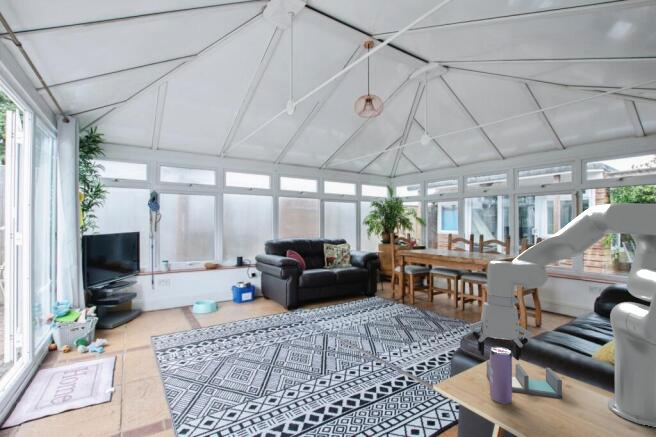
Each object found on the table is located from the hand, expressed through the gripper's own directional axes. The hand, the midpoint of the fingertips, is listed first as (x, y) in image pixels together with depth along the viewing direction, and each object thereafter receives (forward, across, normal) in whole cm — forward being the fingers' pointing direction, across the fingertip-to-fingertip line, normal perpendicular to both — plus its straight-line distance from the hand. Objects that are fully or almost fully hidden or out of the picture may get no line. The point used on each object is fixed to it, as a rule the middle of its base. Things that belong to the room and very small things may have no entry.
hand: (498, 356), depth 96 cm
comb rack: (+13, -10, -11) cm, 20 cm away
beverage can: (+13, -1, 0) cm, 13 cm away
